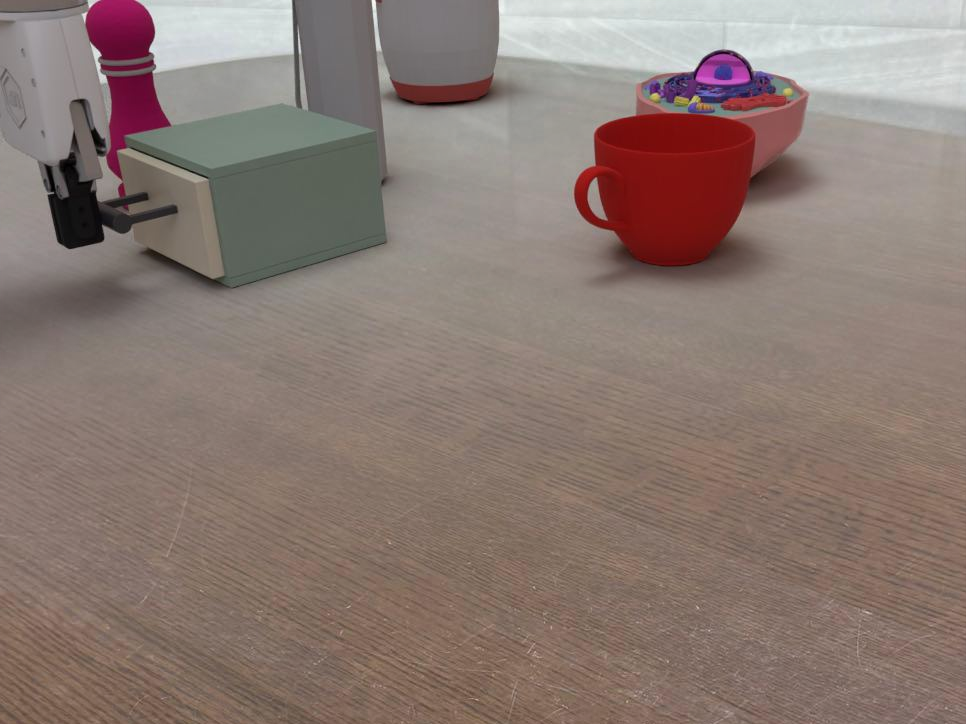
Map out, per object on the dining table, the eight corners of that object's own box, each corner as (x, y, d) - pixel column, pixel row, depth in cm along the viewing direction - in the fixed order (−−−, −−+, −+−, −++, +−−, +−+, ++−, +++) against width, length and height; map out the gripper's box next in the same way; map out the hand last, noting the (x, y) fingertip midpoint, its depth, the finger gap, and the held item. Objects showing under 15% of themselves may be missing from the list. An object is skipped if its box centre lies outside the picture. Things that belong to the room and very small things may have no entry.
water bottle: (403, 175, 123) (380, -100, 110) (363, 196, 117) (333, -91, 104) (328, 166, 127) (296, -101, 113) (285, 187, 121) (246, -93, 107)
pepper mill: (172, 186, 122) (132, -30, 111) (205, 202, 117) (166, -23, 106) (104, 201, 118) (55, -22, 107) (134, 218, 113) (87, -14, 103)
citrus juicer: (364, 86, 159) (347, -84, 148) (494, 78, 161) (487, -90, 150) (372, 114, 146) (354, -70, 135) (513, 105, 148) (507, -77, 137)
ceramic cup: (526, 263, 101) (523, 141, 95) (669, 218, 110) (673, 105, 104) (634, 305, 92) (636, 174, 87) (779, 253, 101) (790, 131, 96)
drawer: (148, 298, 93) (127, 198, 89) (73, 257, 102) (51, 164, 98) (360, 236, 105) (351, 145, 100) (277, 204, 113) (265, 118, 109)
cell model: (609, 199, 115) (610, 75, 109) (654, 145, 131) (658, 34, 125) (787, 211, 111) (799, 83, 105) (812, 154, 127) (823, 39, 120)
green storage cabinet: (231, 288, 97) (211, 168, 92) (146, 246, 106) (123, 135, 101) (386, 242, 106) (376, 130, 101) (296, 207, 115) (282, 103, 110)
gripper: (-62, -17, 88) (-2, 230, 98) (18, 9, 78) (75, 279, 88) (39, -26, 92) (87, 212, 102) (126, -3, 83) (169, 257, 92)
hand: (81, 242), depth 95 cm, fingers closed
